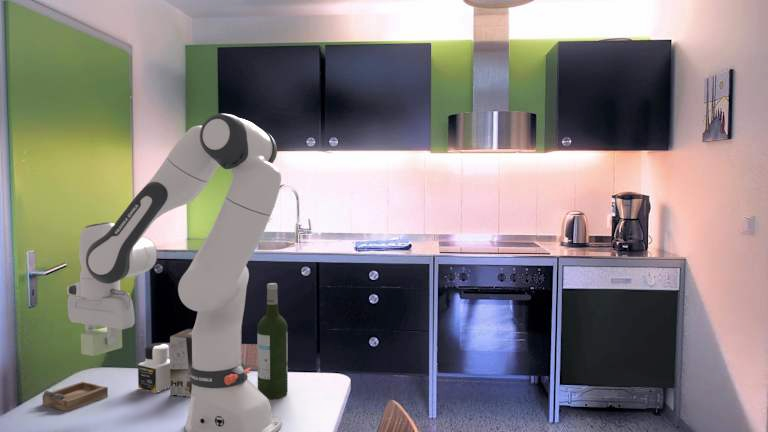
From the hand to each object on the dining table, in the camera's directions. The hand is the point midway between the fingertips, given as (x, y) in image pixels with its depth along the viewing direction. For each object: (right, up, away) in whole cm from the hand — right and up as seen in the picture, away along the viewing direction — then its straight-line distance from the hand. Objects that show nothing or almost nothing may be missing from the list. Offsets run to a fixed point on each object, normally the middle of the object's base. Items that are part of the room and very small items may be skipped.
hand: (101, 342), depth 136 cm
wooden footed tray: (-10, -16, +6) cm, 20 cm away
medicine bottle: (+7, -16, +16) cm, 24 cm away
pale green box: (0, -2, 0) cm, 2 cm away
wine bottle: (+40, -17, +11) cm, 45 cm away
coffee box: (+17, -17, +13) cm, 27 cm away
